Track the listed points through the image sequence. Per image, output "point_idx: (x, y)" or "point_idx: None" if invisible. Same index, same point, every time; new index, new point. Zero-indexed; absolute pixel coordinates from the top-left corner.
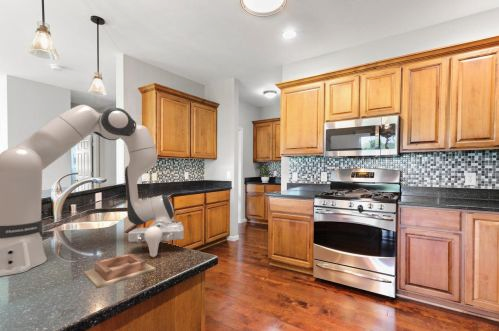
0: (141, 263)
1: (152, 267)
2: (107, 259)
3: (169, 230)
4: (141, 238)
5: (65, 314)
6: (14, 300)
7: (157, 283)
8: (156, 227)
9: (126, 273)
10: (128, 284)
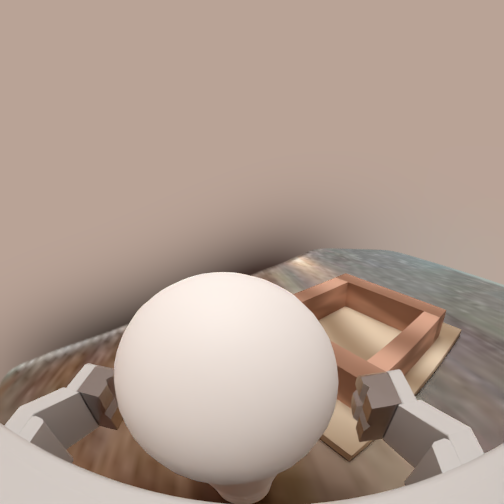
0: None
1: None
2: (425, 326)
3: (8, 443)
4: (359, 389)
5: (338, 256)
6: (452, 272)
7: None
8: (174, 285)
9: None
10: None
